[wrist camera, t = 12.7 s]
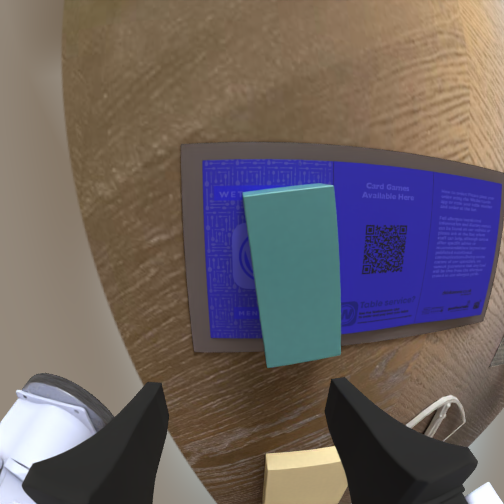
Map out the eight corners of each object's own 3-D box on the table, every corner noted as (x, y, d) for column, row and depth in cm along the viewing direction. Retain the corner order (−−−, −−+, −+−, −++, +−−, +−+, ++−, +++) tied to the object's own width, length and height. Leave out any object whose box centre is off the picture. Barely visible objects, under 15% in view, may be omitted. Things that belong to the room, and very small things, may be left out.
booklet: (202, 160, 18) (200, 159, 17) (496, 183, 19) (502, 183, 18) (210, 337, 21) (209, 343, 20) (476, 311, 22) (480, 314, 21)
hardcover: (262, 499, 29) (263, 513, 26) (265, 452, 26) (267, 470, 23) (334, 491, 29) (337, 504, 27) (356, 440, 26) (362, 456, 24)
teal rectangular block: (263, 344, 21) (267, 368, 18) (241, 192, 18) (242, 195, 15) (329, 333, 21) (341, 355, 18) (320, 182, 18) (335, 184, 15)
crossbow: (402, 400, 25) (411, 411, 23) (475, 383, 26) (484, 391, 24) (358, 483, 28) (362, 493, 26) (428, 464, 29) (433, 472, 27)
